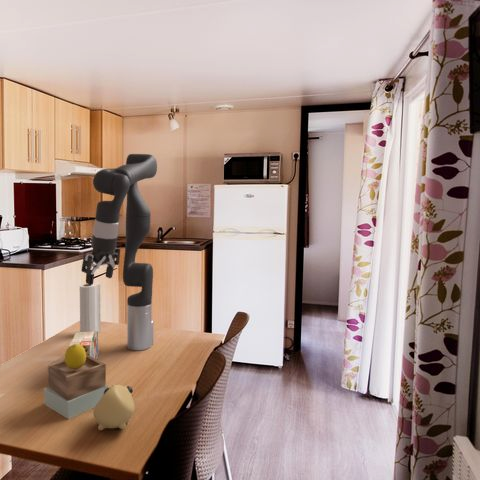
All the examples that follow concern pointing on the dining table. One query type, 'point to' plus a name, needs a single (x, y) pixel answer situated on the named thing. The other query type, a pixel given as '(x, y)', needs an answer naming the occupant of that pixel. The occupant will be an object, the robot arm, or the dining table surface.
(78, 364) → the lemon
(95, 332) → the stack of blocks
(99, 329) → the paper towel roll
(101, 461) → the dining table surface
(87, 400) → the tower base
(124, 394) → the cream pug plush toy
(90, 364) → the wooden box
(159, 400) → the dining table surface
